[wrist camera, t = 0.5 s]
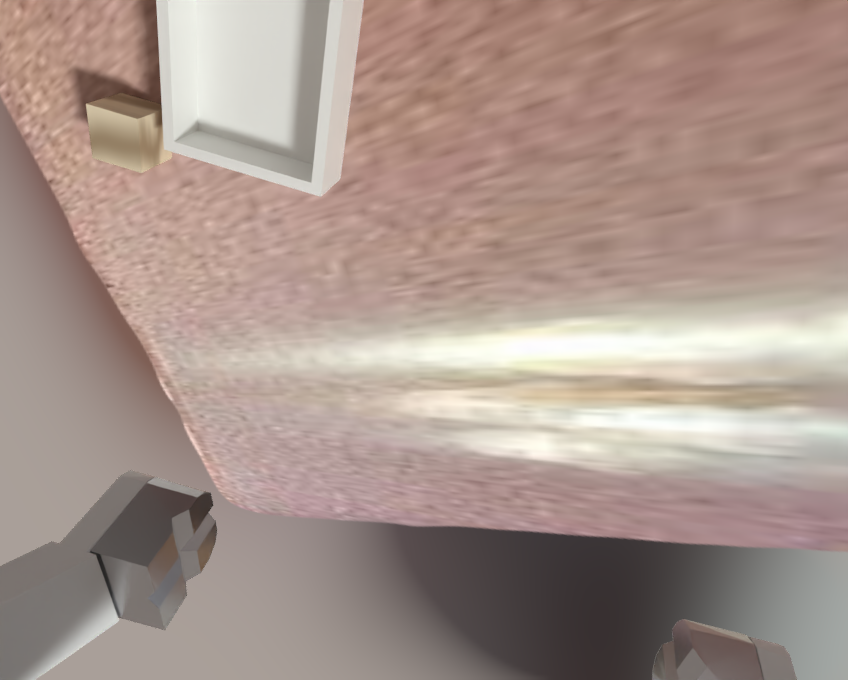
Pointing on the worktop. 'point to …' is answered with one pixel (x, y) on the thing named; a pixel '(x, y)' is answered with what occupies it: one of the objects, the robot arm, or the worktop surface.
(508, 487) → the worktop surface
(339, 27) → the tote
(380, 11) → the worktop surface
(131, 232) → the worktop surface
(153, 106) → the maple cube
